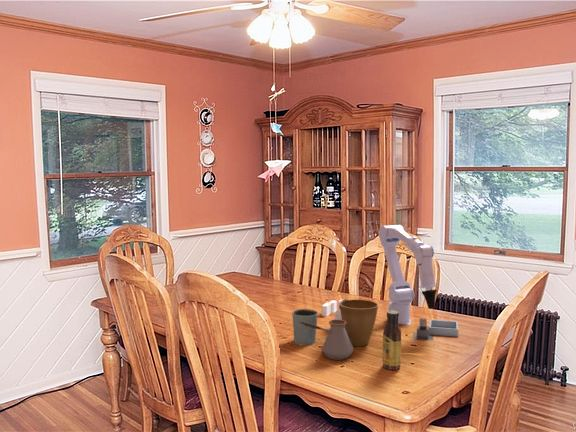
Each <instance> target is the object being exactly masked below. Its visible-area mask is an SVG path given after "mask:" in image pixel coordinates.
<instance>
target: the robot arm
mask: <svg viewBox="0 0 576 432" xmlns="http://www.w3.org/2000/svg"><path fill="white" fill-rule="evenodd" d="M378 237H379V241H380V243H381V245H382V248H383V252H384V255H385V259H386V262H387V263H386V264H387V266H388V267H387V268H388V271H389V274H390V277H391V281H392V283H391V284H390V285H389V287H388V298H389V300H390V302H389V303H388V309H387V311H390V310H393V311H398V312H399V317H398V325H411V322H412V319H411V304H412V302H413V301H414V298H415V292H414V290H413V288H412V286H411V283H409V282H408V281H406V280H405V277H404V273H403V271H402V267H401V263H400V259H399V255H398V252H397V248H396V247H397V246H398V245H399V244H400V241H401V242H403V243H404V244H405V247H406V249H408V250H409V251H410V253H413V257H414V259H415V262H416V264H417V267H418V272H419V279H420V289H425V290H424V291H423V290H422V291H421V294H422V296H424V299H425V303H426V306H427V308H428V310H432V309H435V307H436V293H437V291H438V290H437V289H433V288H434V287H440V285H439V284H436V278H435V271H434V265H433V259H432V258H433V257H434V255H435V251H434V248H433V245H431V244H425V243H424V242H423V241H421V240H420V239H418V237H417V236H410V234H409V233H407V232H406V231H405V228H404V226H402V225H401V224H391V225H381V226H380V227H379V230H378Z"/></svg>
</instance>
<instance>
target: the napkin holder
mask: <svg viewBox="0 0 576 432" xmlns="http://www.w3.org/2000/svg"><path fill="white" fill-rule="evenodd" d="M337 311H338V300H333V299H331V300H330V301H328V302H327V301H326V302H325V303H324V304H323V305H321V316H322V317H328V316H329V315H331V314H335V312H337Z"/></svg>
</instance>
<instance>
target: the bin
mask: <svg viewBox="0 0 576 432" xmlns="http://www.w3.org/2000/svg"><path fill="white" fill-rule="evenodd" d="M428 327H429V334H433V336H434V335H435V336H446V337H458V336H459V323H458V321H456V320H441V319H440V320H439V319H430V320H429V326H428Z"/></svg>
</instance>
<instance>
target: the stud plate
mask: <svg viewBox="0 0 576 432" xmlns="http://www.w3.org/2000/svg"><path fill="white" fill-rule="evenodd" d="M411 339H412V340H422V341H423V340H424V341H434V335H433V334H429V339H427V338H417V332H413V333H412V338H411Z"/></svg>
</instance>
